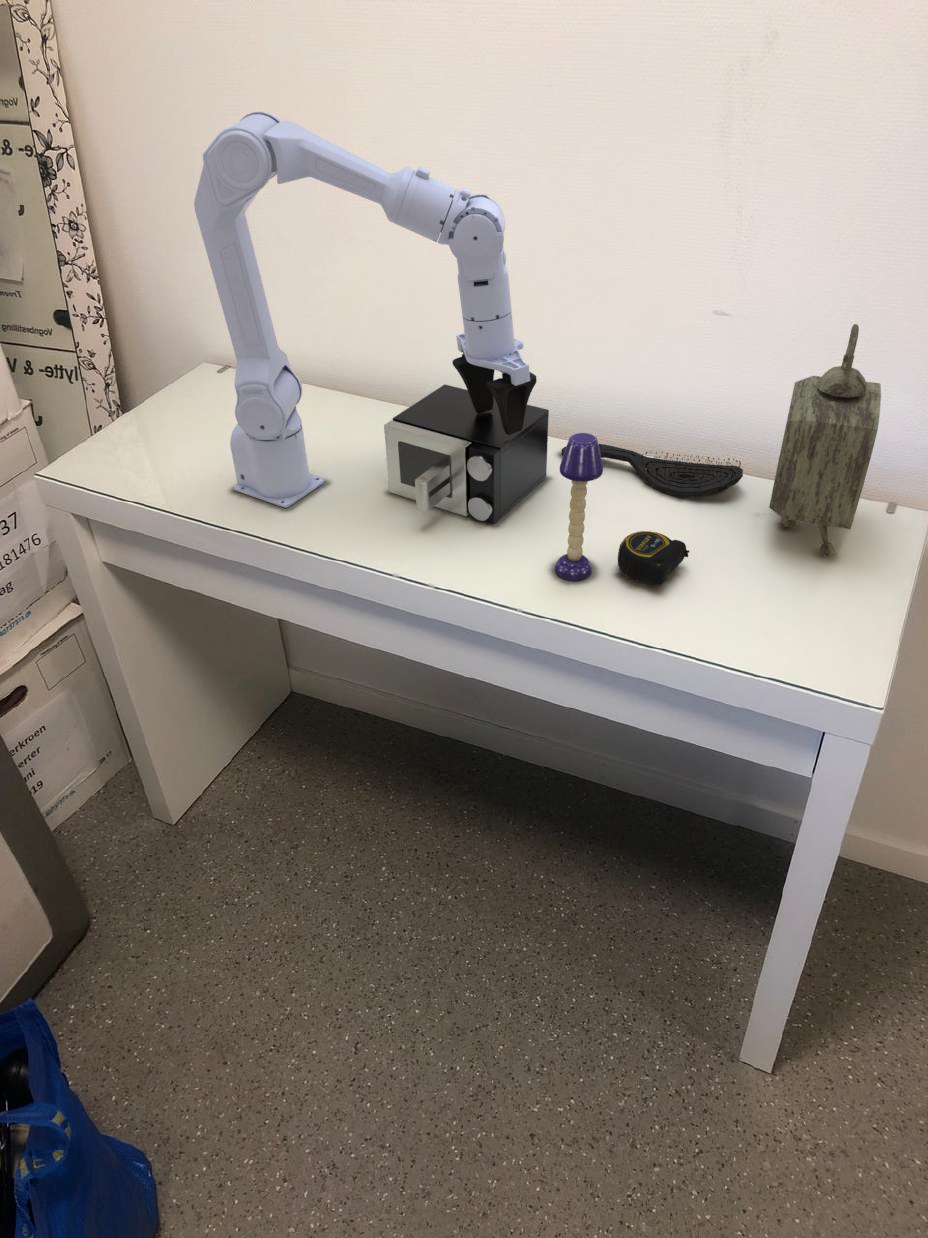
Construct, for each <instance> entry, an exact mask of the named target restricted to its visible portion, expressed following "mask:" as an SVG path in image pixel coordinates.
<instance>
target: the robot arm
mask: <svg viewBox="0 0 928 1238" xmlns="http://www.w3.org/2000/svg"><path fill="white" fill-rule="evenodd" d="M202 161H203V162H202V163H203V165H202V169H201V173H200V176H199V181H198V185H197V189H196V193H195V197H194V200H193V205H194V206H193V207H194V213H195V215H196V219H197V223H198V227H199V230H200V233H201V234H200V235H201V238H202V241H203V245H204V249H205V252H206V255H207V258H208V262H209V266H210V270H211V273H212V276H213V281H214V284H215V287H216V291H217V294H218V299H219V302H220V305H221V309H222V313H223V315H224V320H225V323H226V326H227V330H228V334H229V337H230V338H229V339H230V341H231V344H232V347H233V348H232V349H233V351H234V355H235V359H236V366H235V376H234V389H235V394H236V404H235V408H234V415H235V420H236V422H237V424H236V425H235V426H234V428H233V430H232V432H231V435H230V443H229V447H230V452H231V456H232V461H233V466H234V471H235V472H234V473H235V476H236V482H237V484H235V485H233V490H234V491H236V492H239V493H241V494H244V495H247V496H249V497H253V498H255V499H259V500H261V501H263V502H267V503H270V504H273V505H276V506H278V507H281V508H289V507H290V506H292V505H294V504H295V503H296V502H298V501H300V500H301V499H303V498H304V497H305V496H307V495H309V494H310V493H311V492H313V491H314V490H316V489H317V488H318V487H320V486H322V485H323V484H325V479H324V478H322V477H318V476H316V475H313V474H310V470H309V462H308V456H307V449H306V442H305V435H304V427H303V421H302V418H301V416H300V415H299V413H298V410H297V405H298V404H299V403H300V401H301V399H302V396H303V386H302V382H301V380H300V378H299V376H298V374H296V372H295V371H294V370H293V368H292V367H291V365H290V362H289V358H288V355H287V353H285V351H284V350H282V349H281V348H280V346H279V344H278V341H277V336H276V332H275V328H274V324H273V320H272V316H271V312H270V308H269V304H268V300H267V296H266V291H265V288H264V284H263V280H262V275H261V273H260V268H259V264H258V260H257V256H256V253H255V247H254V244H253V240H252V235H251V232H250V228H249V224H248V219H247V216H246V211H248V209H249V207H250V206H251V204H252V203H253V201H254V199H255V198H256V197H257V195H258V194H259V192H260V191H261V190H262V189H263V188H264V187H265V186H266V185H267V184H268V183H269V181H270V180H271V179H272V178H275V176H276V182H277V184H278V185H281V184H286V183H290V182H294V181H297V180H302V179H306V178H312V179H315V180H318V181H320V182H323V183H325V184H328V185H330V186H333V187H335V188H338V189H340V190H343V191H346V192H348V193H351V194H352V195H356V196H358V197H361V198H364V199H366V200H369V201H371V202H374V203H376V204H379V205H380V206H381V208H382V210H383V212H384V213H385V216H386V218H387V220H388V221H389V222H390V223H393V224H395V225H397V226H399V227H401V228H404V229H405V230H407V231H410V232H412V233H415V234H417V235H419V236H422V237H424V238H426V239H428V240H431V241H433V242H434V243H437V244H439V245H445V246H446V245H447V246H448V247H449V250H450V251H451V253H452V255H453V256H454V258H455V259H456V262H457V263H456V264H457V272H458V273H457V284H458V292H459V300H460V309H461V317H462V325H463V332H464V333H460V334H457V335H456V344H457V350H458V351H459V352H460V353H462V354H461V356H460V357H456V358H454V359H453V360H452V366H453V367H454V369H455V370H456V371H457V372H458V374H459V376H460V377H461V379H462V381H463V383H464V385H465V387H466V390H468V392H469V395H470V398H471V401H472V403H473V406H474V408H475V411H476V413H478V414H481V413H483V412H486V411H489V410H492V409H493V400H494V398H495V400H496V403H497V405H498V408H499V412H500V417H501V421H502V426H503V429H504V431H505V433H506V434H507V435H510V434H513V433H516V432H519V431H522V429H523V423H524V417H525V411H526V407H527V405H528V403H529V399H530V397H531V394H532V392H533V389H534V387H535V386H536V385H537V381H538V379H537V375H536V374H534V373H533V372H531V371H530V364H528V363H527V362H525V361H524V358H523V357H522V355H521V352H520V350H523V348H524V341H522V340H520V339H518V338H515V333H514V322H513V311H512V300H511V298H512V297H511V289H510V279H509V277H510V276H509V270H508V267H507V265H506V263H507V255H506V252H505V246H504V240H505V236H504V235H505V229H506V218H505V215H504V212H503V210H502V208H501V206H500V205H499V204H498V203H497V202H496V201H495V200H493V199H492V198H490V197H489V196H488V195H487V194H485V193H474V194H472V191H471V190H469V189H467V188H465V187H463V188H462V189H461V190H459V189H457V188H455V187H452V186H450V185H449V184H445V183H443V182H442V181H439V180H437V179H435V178H433V177H430V174H431V170H430V169H428V168H425V167H423V166H421V165H419V166H418V168H417V170H415V169H412V168H410V167H404V168H402V169H400V170H398V171H396V172H390V171H388V170H386V169H384V168H382V167H380V166H378V165H376V164H375V163H372V162H370V161H369V160H368V159H367V160H366V159H365V158H362V157H361V156H360V155H357V154H355V153H353V152H351V151H349V150H347V149H345V148H343V147H341V146H340V145H338V144H335V143H333V142H331V141H330V140H328V139H325V138H324V137H322V136H320V135H318V134H317V133H314V132H312V131H311V130H309V129H307V128H305V127H303V126H301V125H299V124H298V123H296V122H294V121H290V120H288V119H281V120H280V119H279V118H277V116H275V115H274V114H271V113H269V112H266V111H252V112H249V113H247V114H246V115H244V116H243V117H242V118H241V119H240V120H239V121H238V122H236V123H235V124H234V125H232V126H229V127H227V128H224V129H223V130H222V131H220V132H219V133H218V134H217V135H216V136H215V137H214V139H213V140H212V141H211V143H210V144H209V145H208V147H207V148H206V149H205V150H204V151H203V153H202ZM495 371H496V372H497V371H498V372H499V373H501V377H499V378H496V379H495ZM493 396H494V397H493Z"/></svg>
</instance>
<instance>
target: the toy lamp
mask: <svg viewBox="0 0 928 1238" xmlns="http://www.w3.org/2000/svg"><path fill="white" fill-rule="evenodd" d="M598 443H599V441H598V438H597V436H596V435H593V434H591V433H587V432H577V433H574V434H572V435H571V436H569V439H568V441H567V443H566V446H565V447H566V449H565V452H564V455H562V458H561V461H560V463H559V473H560V475H561V476H562V477H564V478H565V479H566V480H569V481H571V484H572V486H571V488H570V496H571V498H570V502H569V508H570V510H569V513H568V520H569V523H568V528H567V529H568V538H567V545H568V547H567V550H566V553H565V554H563V555H562V556H560V557H559V558H558V560H557V561H556V563H555V566H554V572H555V574H556V575H557V576H558V577H560V578H562V579H564V580H568V581H580V580H584V579H586V578H588V577H590V575H591V574H592V572H593V569H592V564H591V561H590V560H589V558H587V557H586V556H585V555H584V554H583V553H584V552H583V551H584V549H583V545H584V535H583V534H584V532H585V523H584V521H585V519H586V512H585V509H586V506H587V499H586V497H587V494H588V488H587V485H588V483H589V482H592V481H596V480H597V479H599V478H601V477H602V475H603V474H604V473H603V472H604V464H603V460H602V458H601V454H600V449H599V444H600V443H599V444H598Z"/></svg>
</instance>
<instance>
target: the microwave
mask: <svg viewBox="0 0 928 1238" xmlns="http://www.w3.org/2000/svg"><path fill="white" fill-rule="evenodd" d="M493 397H494V396H493ZM549 414H550V410H549V409H546V408H544V407H543V408H542V407H538V406H535V405H530V404H527V407H526V411H525V417H524V423H523V429H522V431H519V432H516V433H513V434H510V435H507V434H506V433H505V431H504V429H503V426H502V421H501V417H500V412H499V408H498V405H497V403H496V400H495V398H494V400H493V409H492V410H489V411H486V412H483V413H481V414H478V413H476V411H475V408H474V406H473V403H472V401H471V398H470V395H469V392H468V390H467V388H466V389H465V388H461V387H457V386H453V385H448V384H446V383H445V384H443V385H441V386H440V387H438V388H437V389H435V390H433V391H432V392H431V393H429V394H428V395H425V397H423V398H421V399H420V400H418V401H416V402H415V403H414V404H412V405H411V406H408V408H405V410H403V411H401V412H400V413H398V414H397V415H395V416H394V417H392V421H396V422H399V423H403V424H407V425H410V426H414V427H418V428H421V429H425V430H428V431H432V432H436V433H439V434H443V435H447V436H450V437H454V438H458V439H461V440H465V441H469V442H472V446H471V447H470V448H469V460H468V462H467V469H468V472H469V474H470V500H469V502H468V509H469V512H470V514H469V515H470V517H471V518H474V519H475V520H477V521H484V522H487V523H491V524H493V525H494V524H496V523H497V522H498V521H499V520H501V519H503V518H504V517H505V516H506V515H507V514H508V513H509V512H511V510H513V508H515V507H516V506H517V505H518V504H519V503H520V502H522V501H523V500H524V499H525V498H526V497H527V496H528V495H530V494H531V493H532V492H533V491H534V490H535V489H536V488H538V487H539V486H540V485H541V484H542V483H543V482H545V480H546V479H547V471H548V470H547V467H548V443H549V442H548V440H549V439H548V437H549Z"/></svg>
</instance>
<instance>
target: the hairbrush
mask: <svg viewBox="0 0 928 1238" xmlns="http://www.w3.org/2000/svg"><path fill="white" fill-rule="evenodd" d="M598 444H599V449H600V454H601V459H602V458H603V459H605V458H606V459H610V460H615V461H621V462H627V463H629V465H630V466H631V467H632V468H633V469H634V470H635V471H636V472H637V473H638V475H640V477H641V478H642V479H643V480H644V481H645V482H646V483H647V485H648V486H651V487H653V488H654V489H656V490H657V491H659V492H661V493H662V494H667V495H670V496H674V497H678V498H703V497H705V496H709V495H713V494H717V493H718V494H719V493H721V492H724V491H726V490H727V489H729V488H731V487H733V486H735V485H737V484H738V483H739V482H740V481H741V479H743V477H744V469H743V468H742V467H741V465H742V462H741V460H739V461H738V460H737V459H736V460H735V458H733V462H734V461H735V462H736V463H738V464H739V465H738V466H737V464H736V463H735V464H732V463H731V462H730V459H731V458H730V457H729V458H727V461H725V458H724V459H723V461H725V464H724V465H723V462H720V461H719V460H720V457H718V461H715V464H714V462H713V461H714V460H715V457H713V458H712V460H710V456H707V460H706V459H705V460H704V462H701V459H703V458H704V456H703V455H702V456H701V459H699V458H700V456H699V455H696V456H695V457H696V459H698V461H696V459H695V458H693V461H696V462H693V461H689V460H690V459H691V458H692V455H690V458H687V461H685V459H686V458H684V457H686V454H684V457H682V458H681V460H682V461H681V460H679V457H680V456H681V455H680V454H676V459H675V460H674V459H672V457H674V456H675V453H673V454H672V456H670V459H668V456H669V452H666V455H665V456H664V458H661V455H659V456H658V457H657V456H654V457H651V456H647V454H648V451H645V455H644V454H643V453H642V454H641V453H639V452H637V451H634V450H630V449H626V448H622V447H618V446H614V445H609V444H605V443H599V442H598ZM565 449H566V446H563V448H561V456H563V455H564V452H565ZM663 453H664V452H663V451H661V454H663ZM650 454H652V451H650ZM657 454H658V451H656V452H655V455H657ZM683 460H684V461H683ZM707 462H708V463H707Z"/></svg>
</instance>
